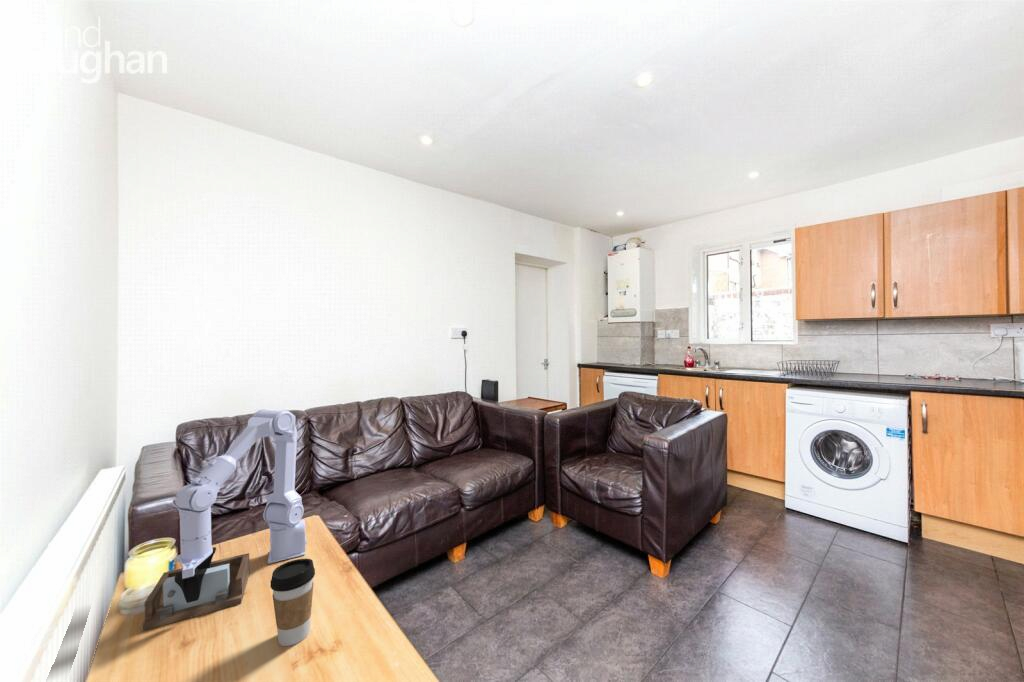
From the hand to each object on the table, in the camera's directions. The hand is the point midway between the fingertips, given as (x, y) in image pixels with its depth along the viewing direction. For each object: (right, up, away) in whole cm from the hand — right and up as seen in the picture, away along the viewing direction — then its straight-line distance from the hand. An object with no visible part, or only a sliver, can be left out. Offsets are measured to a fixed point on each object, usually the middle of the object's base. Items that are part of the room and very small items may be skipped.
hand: (197, 591), depth 91 cm
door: (0, -3, 0) cm, 3 cm away
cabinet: (-2, -4, +4) cm, 6 cm away
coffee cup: (+28, -4, -9) cm, 30 cm away
